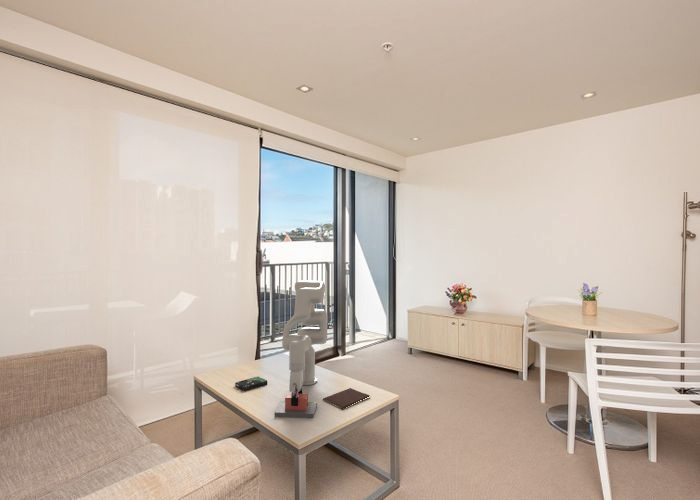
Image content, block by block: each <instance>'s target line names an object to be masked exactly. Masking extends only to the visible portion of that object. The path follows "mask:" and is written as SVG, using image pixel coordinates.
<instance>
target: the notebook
mask: <svg viewBox="0 0 700 500" xmlns="http://www.w3.org/2000/svg"><path fill="white" fill-rule="evenodd" d="M369 396H370V395H369V394H367V393H364V392H361V391H359V390H356V389H354V388H351V387H349V388H346V389H344V390H341V391H338V392H336V393H333V394H331V395H327V396H325V397H323V398H322V401H324V400H325V401H324V402H326V401H327V402H326V403H328V402H329V403H328V404H330V403H331V404H330V405H332V404H334V405H336V406H338V407H340V408H339V409H341V408H346V407H348V406H350V405H352V404H354V403H356V402H358V401H360V400H363V399H365V398H367V397H369ZM370 397H371V396H370ZM334 405H333V406H334ZM336 406H335V407H336ZM338 407H337V408H338ZM350 407H351V406H350ZM348 408H349V407H348ZM346 409H347V408H346Z"/></svg>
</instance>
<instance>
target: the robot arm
mask: <svg viewBox="0 0 700 500" xmlns="http://www.w3.org/2000/svg"><path fill="white" fill-rule="evenodd" d="M294 291H295V293H296V294H295V301H294V312H293V316H291V318H290V319H288V321H287V322H286V324H285V325H284V327H283V333H282V339H281V340H282V341H281V345H282V348H283V350H284V351H288V353H289V355H288V357H289V360H288V361H289V363H288V367H289V368H288V370H289V371H290V373H289V374H290V375H289V389H288V391H289V393H292V395H291V406H298V394H303V386H311V385H314V384H316V383H318V378H317V377H316V374H315V369H316V366H315V365H316V351H315V348H314V347H313V345H325V344H326V343H327V341H328V313H327V310H326V309H323V308H316V307H315V305H316V304H317V305H318V304H322V302H323V301H324V297H325V293H326V284H325V283H324V281H322V280H298V281H296V282H295V283H294ZM298 324H301V325H302V326H308V327H301V328H299V329H298V331H297V333H296V334H290V331H291V330H292V329H293V327H295V326H296V325H298ZM309 326H312V327H309ZM313 326H316V327H313ZM317 326H318V327H317Z"/></svg>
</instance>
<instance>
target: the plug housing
mask: <svg viewBox="0 0 700 500" xmlns="http://www.w3.org/2000/svg"><path fill="white" fill-rule="evenodd" d="M291 395H292V392H288V393H286V396H285V398H284V401H285V409H289V410H306V409H307V406H308V402H309V394H308V393H302V394H298V406H291Z"/></svg>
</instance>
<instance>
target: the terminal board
mask: <svg viewBox="0 0 700 500" xmlns="http://www.w3.org/2000/svg"><path fill="white" fill-rule="evenodd" d="M317 408H318V402H317V401H316V402H314V401H313V402H310V401H308V406H307V409H306V410H289V409H285V400H283V401H280V403H279V405H278V406H277V408H276V409H275V411H274V417H276V418H296V419H299V418H300V419H302V418H303V419H314V418H315V414H316V412H317Z"/></svg>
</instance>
